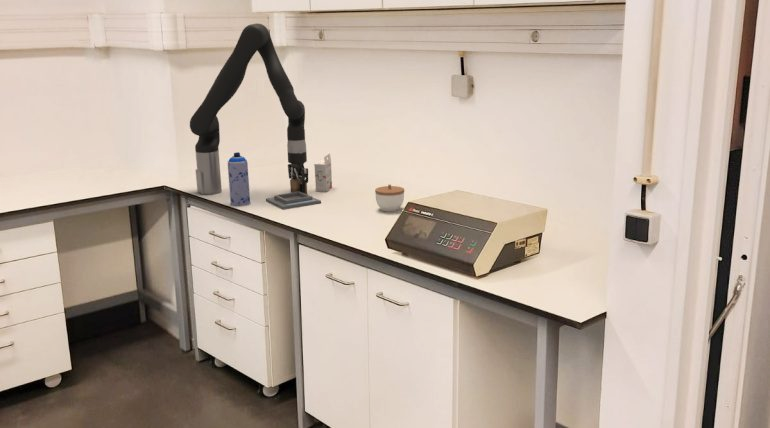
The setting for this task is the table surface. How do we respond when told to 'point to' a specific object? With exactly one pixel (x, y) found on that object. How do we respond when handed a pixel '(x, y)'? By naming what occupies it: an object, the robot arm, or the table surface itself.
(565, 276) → the table surface
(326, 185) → the ink cartridge box
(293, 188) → the block
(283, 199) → the holder
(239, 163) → the aerosol can
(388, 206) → the lidded jar
